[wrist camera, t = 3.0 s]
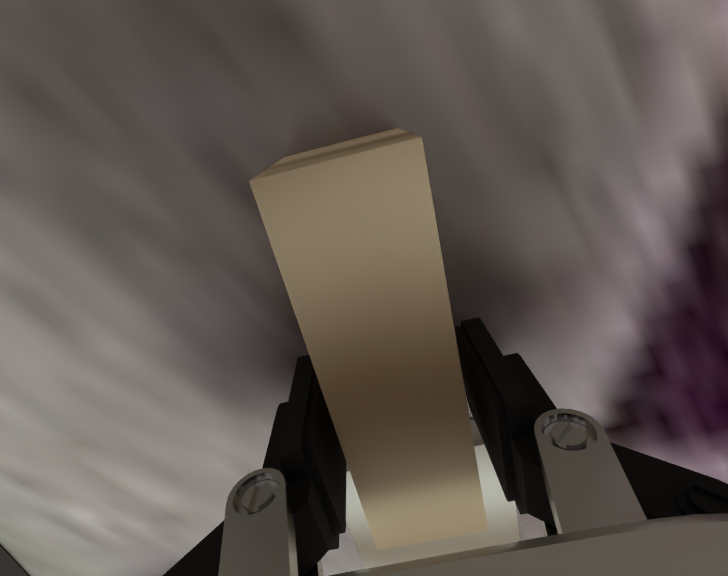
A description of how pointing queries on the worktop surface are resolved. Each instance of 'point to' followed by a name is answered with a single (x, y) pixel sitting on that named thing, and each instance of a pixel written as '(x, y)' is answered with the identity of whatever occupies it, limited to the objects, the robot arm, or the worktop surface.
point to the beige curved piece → (384, 345)
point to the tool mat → (9, 565)
